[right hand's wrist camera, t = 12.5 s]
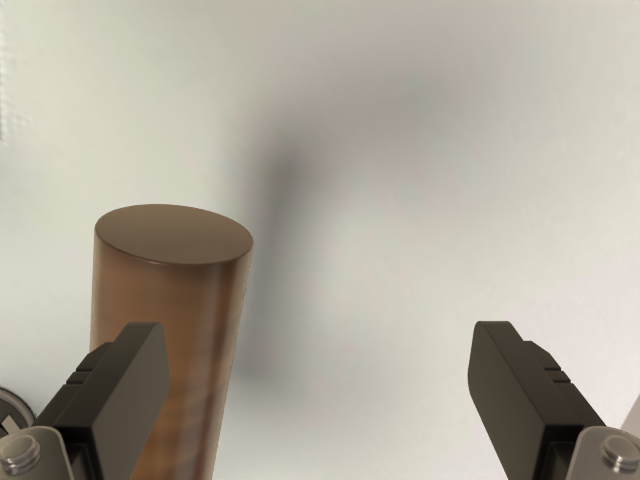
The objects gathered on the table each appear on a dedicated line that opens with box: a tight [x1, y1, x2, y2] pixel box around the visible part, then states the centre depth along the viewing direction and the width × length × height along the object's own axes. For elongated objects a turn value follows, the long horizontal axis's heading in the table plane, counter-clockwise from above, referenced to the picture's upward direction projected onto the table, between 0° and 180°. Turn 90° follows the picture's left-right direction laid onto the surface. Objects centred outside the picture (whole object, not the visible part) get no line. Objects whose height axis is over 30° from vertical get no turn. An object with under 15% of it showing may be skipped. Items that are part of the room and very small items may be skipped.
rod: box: [90, 204, 254, 480], centre depth 22 cm, size 26×6×6 cm, turn 168°
